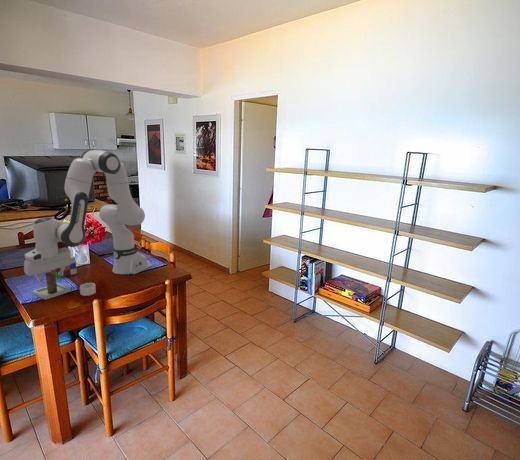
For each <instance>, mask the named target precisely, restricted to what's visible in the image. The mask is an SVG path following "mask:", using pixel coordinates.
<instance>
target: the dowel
mask: <svg viewBox="0 0 520 460" xmlns="http://www.w3.org/2000/svg"><path fill="white" fill-rule="evenodd" d="M44 273H45V274H44V275H45V281H46V286H47V290H48V293H49V294H53V293H56V292H57V284H56V283H57V277H56V275H55V272H53V271H51V270H50V271H47V272H44Z"/></svg>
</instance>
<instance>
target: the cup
mask: <svg viewBox="0 0 520 460" xmlns="http://www.w3.org/2000/svg"><path fill="white" fill-rule="evenodd" d="M96 289H97V287H96V283H94V282H85V283H82V284H80V285H79V293H80V295H81V296H84V297H85V296H88V297H89V296H92V295H94V294H96V292H97V291H96Z"/></svg>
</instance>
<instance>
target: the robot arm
mask: <svg viewBox="0 0 520 460" xmlns="http://www.w3.org/2000/svg"><path fill="white" fill-rule="evenodd" d="M96 172H97V173H103V174H104V175H105V180H106V187H107V193H108V194H107V195H108V197H109V198H110V199H111V200H113V201H114V202H115V203H116V204H105V205H103V206H102V207H101V208H100V209H99V218H100V220H101V221H102V222H103V223H104V224H105V225H106V226H107V227H108V228H109V230H110V232H111V235H112V242H113V243H112V244H113V249H112V250H113V253H112V254H113V258H114V259H113V267H112V273H113V274H116V275H128V274H129V275H136V274H138V273H140V272H143V271H144V270H146V269H149V268H151V267H152V264H151V263H150V262H149V261H148V259H147V257H146V255H144V254H142V253H141V252H139V251H140V250H141V246H138V245H137V246H136V245H135V236H134V233H133V232H132V231H131V230H130V229H128V228H127V227H126V226H137V225H142V224H143V222H144V221H145V217H146V214H145V211H144V209H143V208H141V207H140V206H139V205H138V204H137V203H136V201H135V200H134V198H133V197H132V194H131V189H130V183H129V177H128V173H127V169H126V166H125V164H124V163H123V162H121V161H120V159H119V157H118V156H117V155H116V154H115V153H113V152H111V151H106V150H103V149H87V150H84V151H83V152H82V154H81V156H79V157H78V158H75V159H73V160H72V161H71V164H70V166H69V168H68V170H67V173H66V177H65V180H64V181H65V182H64V193H65V195H66V196H67V197H68V199H69V201H70V203H71V212H70V217H69V222H68V221H61V220H58V219H54V218H52V217H50V216H46V217H40V218H38V219H37V220H35V221H34V222H33V227H32V228H33V229H32V230H33V238H34V241H35V248H34V249H32V250H30V251H28V252H26V253H24V259H25V260H24V261H23V271H24V274H25V275H27V276H29V277H31V276H34V277H35V278H36V279H37V282H38V283H42V282H43V281H44V279H43V277H41V276H40V274H42V273H47V272H51V270H54V269H57V268H61V269H60V272H58V275H59V276H62V275H63V271H64V269H65V266H68V265H71V263H72V260H71V256H70V254H71V249H70V248H74V247H79V246H80V245H82V244H84V243H83V242H84V241H85V239H86V230H85V222H86V218H87V211H88V205H89V195H90V190H91V186H92V181H93V178H94V175H95V173H96ZM60 242H62V244H63V245H65V246H66V247H65V246H64V247H62V248H59V247H58V243H60Z"/></svg>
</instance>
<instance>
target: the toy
mask: <svg viewBox="0 0 520 460" xmlns="http://www.w3.org/2000/svg"><path fill="white" fill-rule="evenodd" d="M70 256H71V260H72V263H71V265H68V266H65V269H64V271H63V275H62V276H59V275H58V272H60V269H61V268H57V269H54V270H50V272H51V271H53V272H55V275H56V279H61V278H64V277H69V276H72V275H76V274H78V271H77V260H76V256H74V255H72V254H71V253H70ZM60 277H61V278H60Z"/></svg>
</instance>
